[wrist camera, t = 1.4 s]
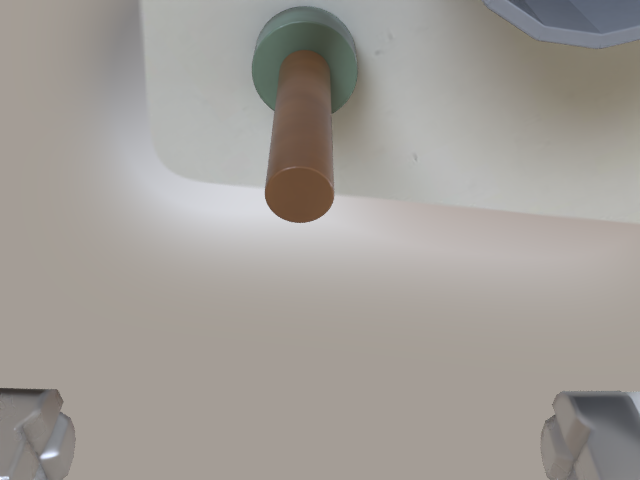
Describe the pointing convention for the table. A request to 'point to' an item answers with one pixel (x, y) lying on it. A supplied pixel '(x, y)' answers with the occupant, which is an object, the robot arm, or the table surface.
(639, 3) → the tumbler
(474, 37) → the table surface
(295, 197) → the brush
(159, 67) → the table surface
